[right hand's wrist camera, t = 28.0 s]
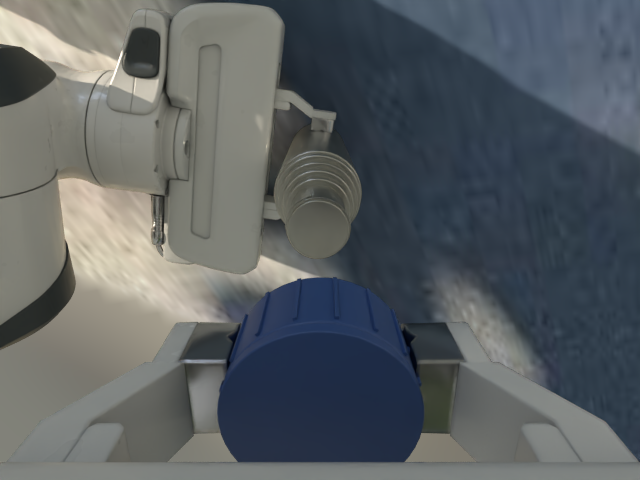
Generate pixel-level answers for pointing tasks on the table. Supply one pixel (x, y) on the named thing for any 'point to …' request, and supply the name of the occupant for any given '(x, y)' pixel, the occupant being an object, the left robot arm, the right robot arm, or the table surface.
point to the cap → (320, 379)
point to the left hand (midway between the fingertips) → (328, 162)
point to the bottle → (317, 193)
